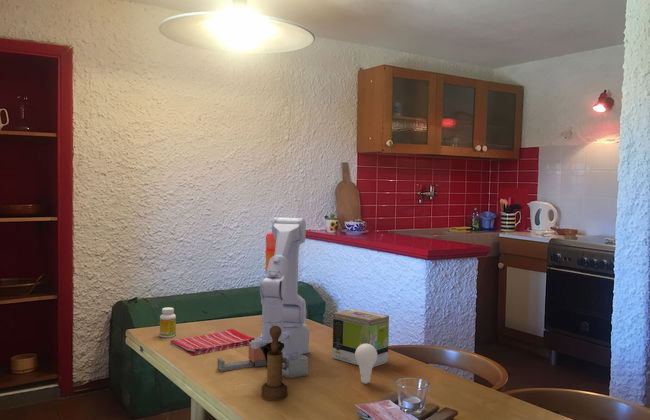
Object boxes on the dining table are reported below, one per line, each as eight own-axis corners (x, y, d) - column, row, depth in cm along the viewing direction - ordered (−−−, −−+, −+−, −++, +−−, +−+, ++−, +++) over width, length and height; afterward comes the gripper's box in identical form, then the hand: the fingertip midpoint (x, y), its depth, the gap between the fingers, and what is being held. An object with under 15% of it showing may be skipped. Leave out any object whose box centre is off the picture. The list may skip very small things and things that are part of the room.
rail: (273, 360, 173) (274, 350, 173) (278, 363, 170) (278, 353, 170) (217, 368, 164) (217, 358, 164) (221, 371, 161) (221, 361, 161)
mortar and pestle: (266, 402, 140) (268, 330, 139) (257, 393, 145) (258, 324, 145) (291, 398, 143) (292, 327, 142) (281, 389, 148) (282, 322, 148)
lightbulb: (370, 389, 150) (371, 348, 150) (350, 384, 153) (351, 344, 153) (380, 382, 155) (381, 343, 155) (360, 378, 159) (361, 339, 158)
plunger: (290, 367, 162) (290, 358, 162) (294, 369, 160) (294, 360, 160) (274, 369, 160) (274, 360, 159) (278, 372, 157) (278, 363, 157)
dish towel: (256, 345, 191) (256, 337, 191) (192, 357, 176) (192, 349, 176) (231, 334, 204) (231, 327, 204) (169, 345, 189) (169, 337, 189)
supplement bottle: (171, 338, 195) (171, 310, 194) (156, 337, 196) (157, 309, 196) (178, 334, 200) (178, 307, 200) (164, 333, 201) (164, 306, 201)
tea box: (389, 362, 173) (390, 315, 173) (368, 369, 166) (370, 320, 165) (351, 352, 184) (352, 307, 183) (331, 358, 176) (332, 311, 176)
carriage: (266, 359, 173) (266, 339, 172) (272, 364, 169) (272, 343, 168) (248, 362, 170) (248, 342, 169) (253, 367, 166) (254, 346, 165)
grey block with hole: (298, 368, 165) (298, 352, 165) (307, 375, 160) (308, 357, 160) (279, 371, 162) (279, 354, 162) (288, 378, 157) (289, 360, 157)
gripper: (279, 314, 165) (278, 359, 166) (243, 322, 154) (242, 371, 155) (297, 318, 161) (296, 364, 161) (261, 327, 150) (260, 377, 150)
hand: (271, 368), depth 158 cm, fingers closed
